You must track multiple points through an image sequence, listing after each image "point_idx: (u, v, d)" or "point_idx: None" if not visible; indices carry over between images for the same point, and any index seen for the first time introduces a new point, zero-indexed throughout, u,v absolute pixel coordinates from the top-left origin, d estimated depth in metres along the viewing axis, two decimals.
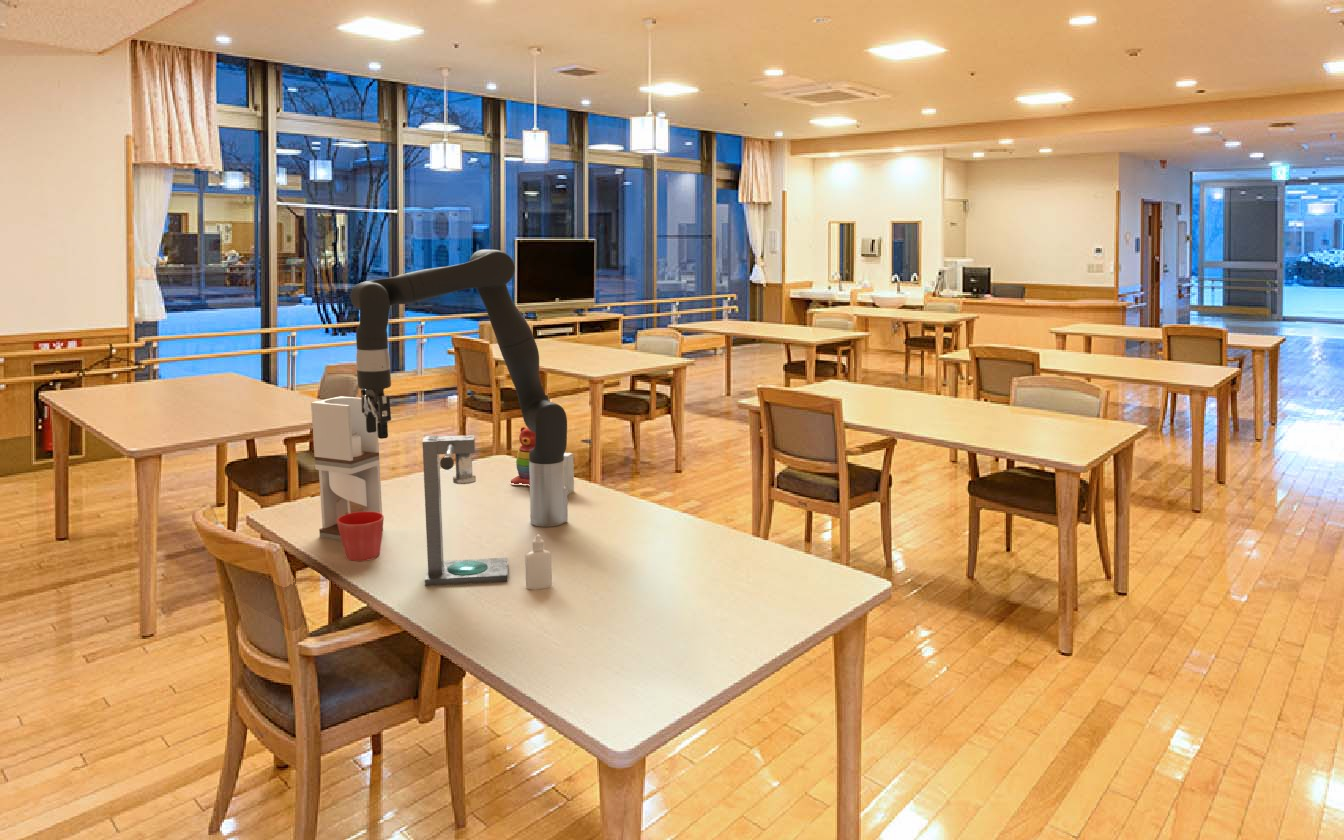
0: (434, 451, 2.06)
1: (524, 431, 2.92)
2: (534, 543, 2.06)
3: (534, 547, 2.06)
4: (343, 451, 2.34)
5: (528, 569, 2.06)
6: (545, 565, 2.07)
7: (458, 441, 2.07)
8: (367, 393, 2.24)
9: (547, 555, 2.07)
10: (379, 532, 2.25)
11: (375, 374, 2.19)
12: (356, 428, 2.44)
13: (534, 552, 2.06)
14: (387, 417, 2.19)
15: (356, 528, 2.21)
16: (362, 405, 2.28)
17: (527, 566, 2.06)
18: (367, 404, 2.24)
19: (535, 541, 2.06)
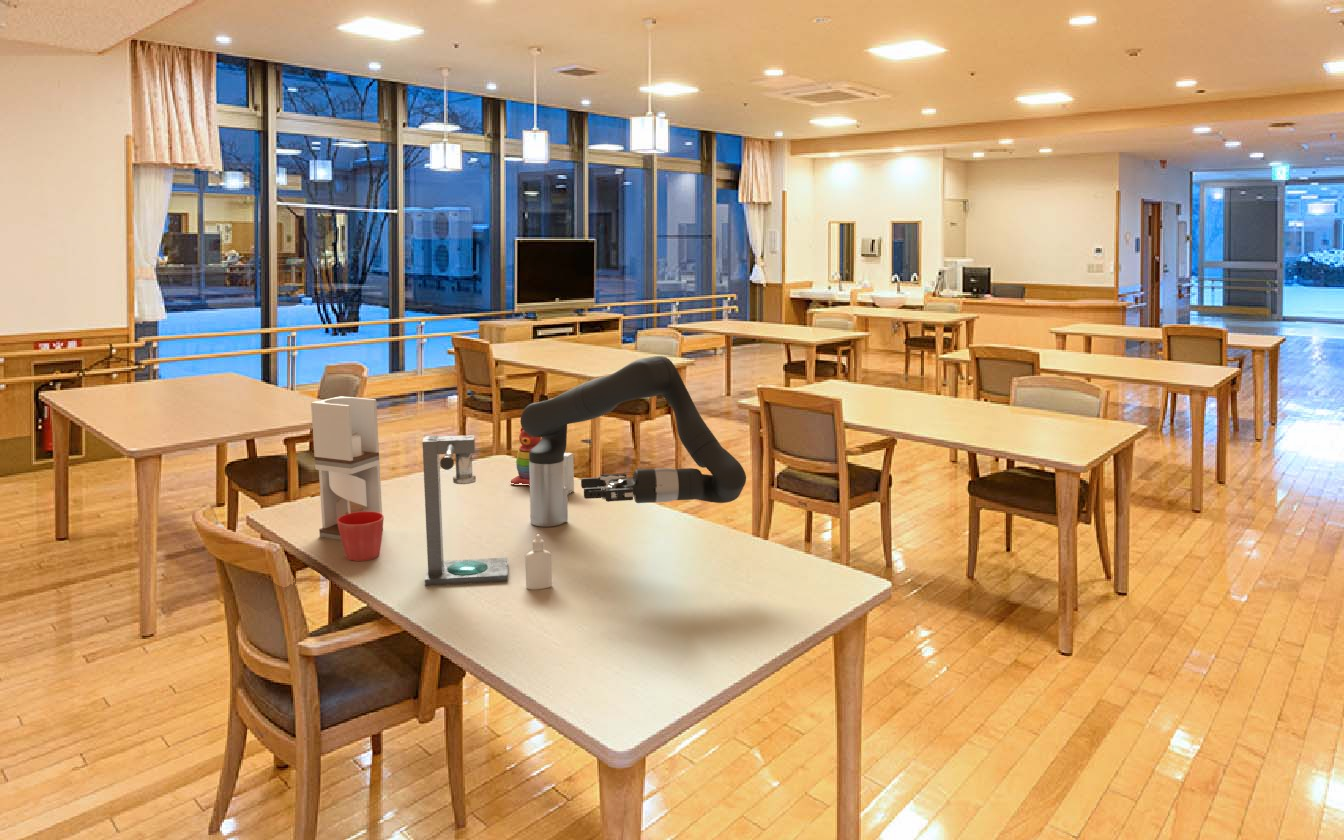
0: (434, 451, 2.06)
1: (524, 431, 2.92)
2: (534, 543, 2.06)
3: (534, 547, 2.06)
4: (343, 451, 2.34)
5: (528, 569, 2.06)
6: (545, 565, 2.07)
7: (458, 441, 2.07)
8: None
9: (547, 555, 2.07)
10: (379, 532, 2.25)
11: None
12: (356, 428, 2.44)
13: (534, 552, 2.06)
14: None
15: (356, 528, 2.21)
16: None
17: (527, 566, 2.06)
18: None
19: (535, 541, 2.06)
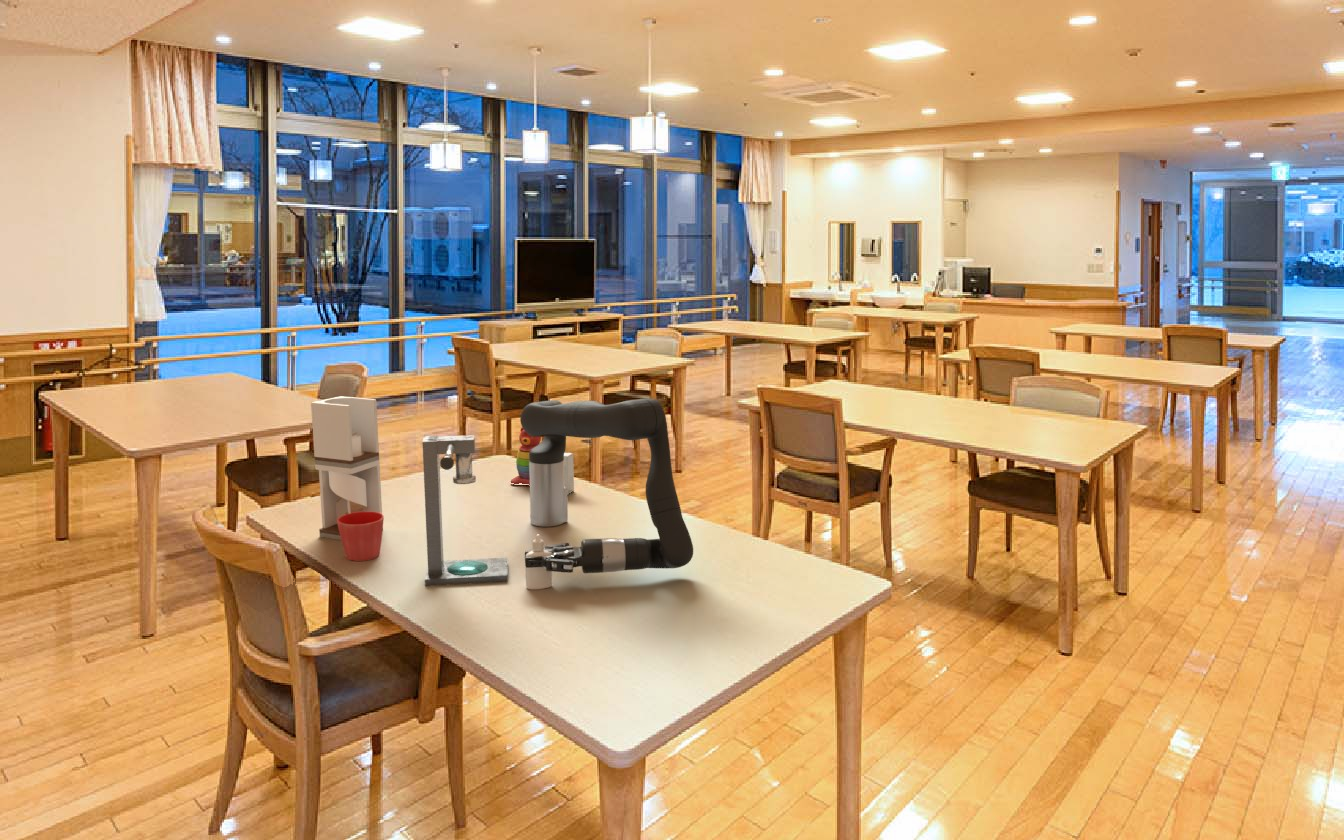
0: (434, 451, 2.06)
1: (524, 431, 2.92)
2: (534, 543, 2.06)
3: (534, 547, 2.06)
4: (343, 451, 2.34)
5: (528, 569, 2.06)
6: None
7: (458, 441, 2.07)
8: None
9: (547, 555, 2.06)
10: (379, 532, 2.25)
11: None
12: (356, 428, 2.44)
13: (534, 552, 2.06)
14: None
15: (356, 528, 2.21)
16: None
17: None
18: None
19: (535, 541, 2.06)
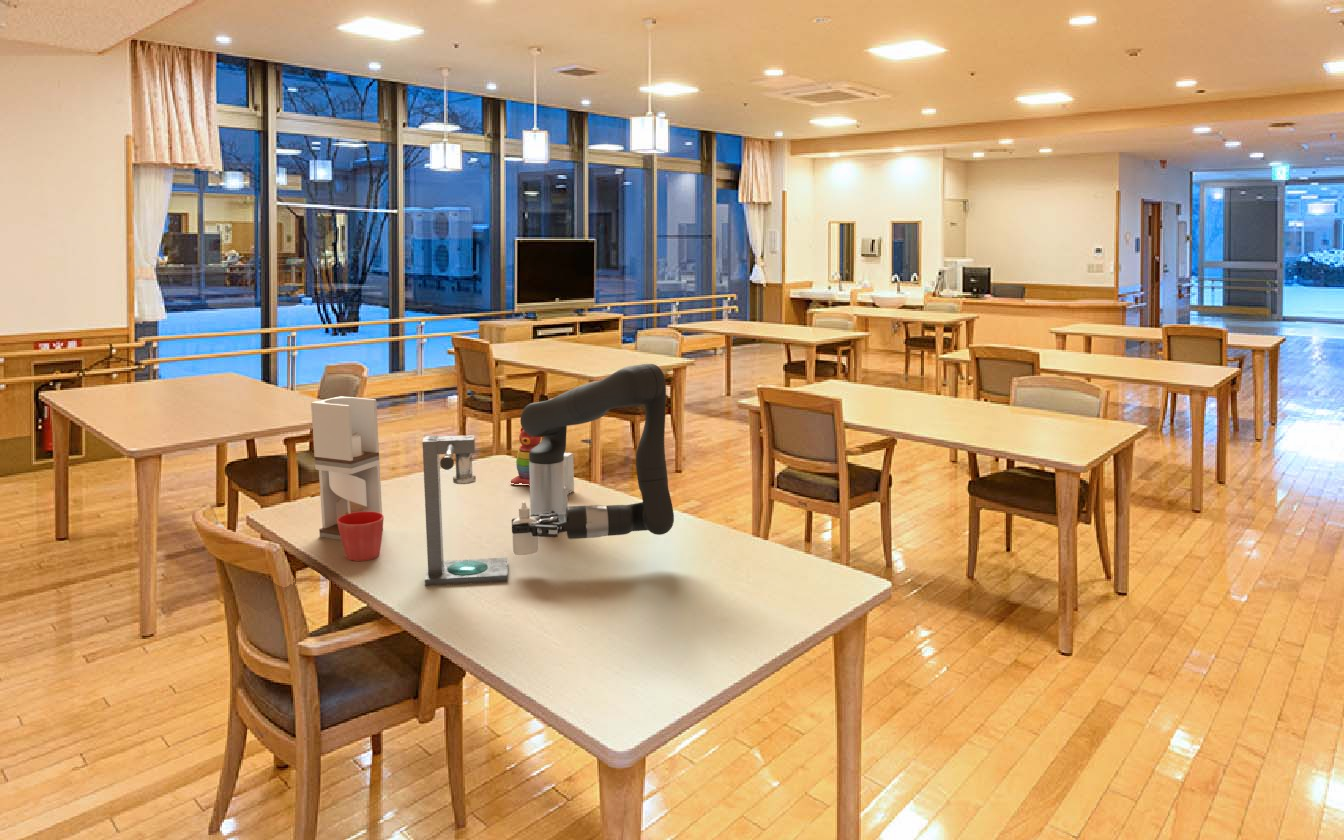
0: (434, 451, 2.06)
1: (524, 431, 2.92)
2: (520, 510, 2.14)
3: (520, 514, 2.14)
4: (343, 451, 2.34)
5: (515, 535, 2.14)
6: None
7: (458, 441, 2.07)
8: None
9: None
10: (379, 532, 2.25)
11: None
12: (356, 428, 2.44)
13: (520, 519, 2.14)
14: None
15: (356, 528, 2.21)
16: None
17: None
18: None
19: (521, 508, 2.14)
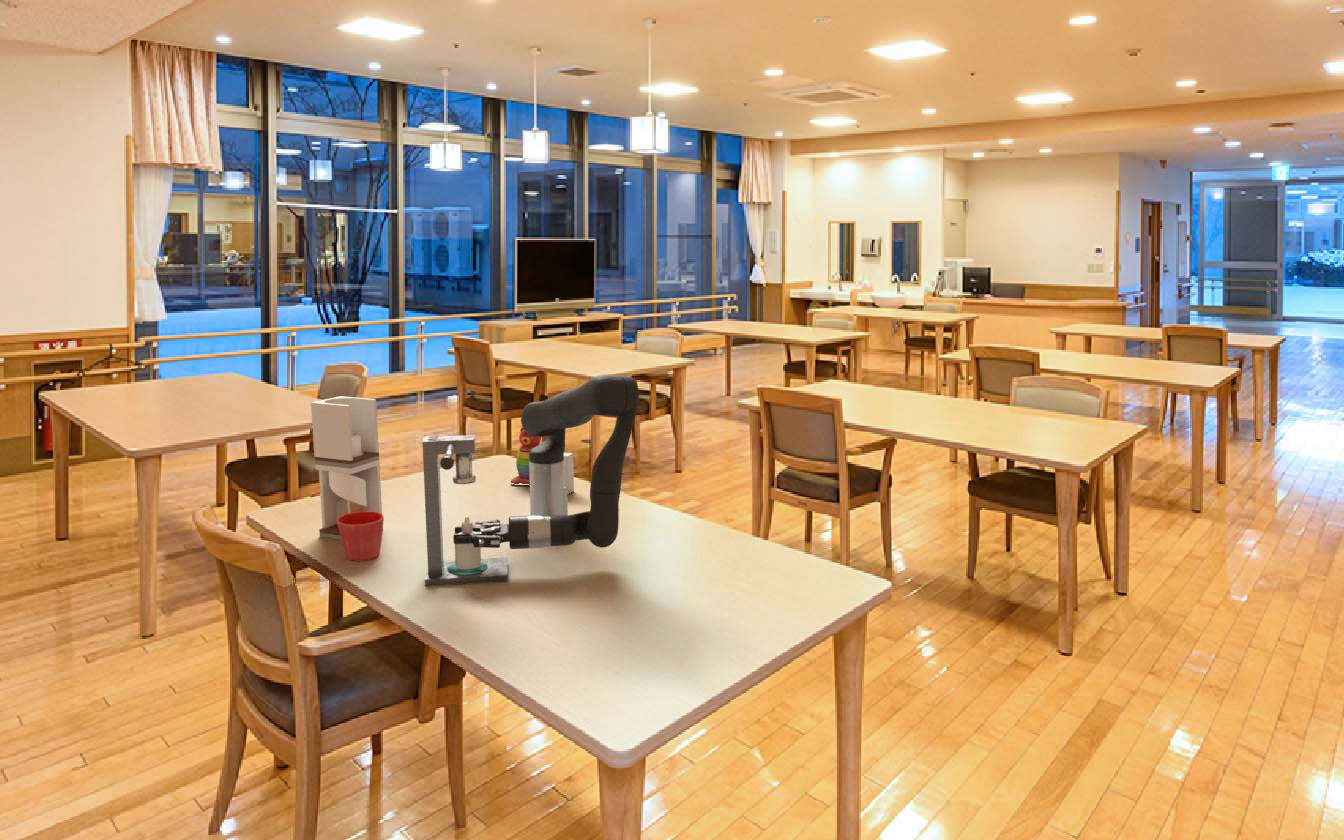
0: (434, 451, 2.06)
1: (524, 431, 2.92)
2: (463, 524, 2.13)
3: (463, 528, 2.13)
4: (343, 451, 2.34)
5: (457, 549, 2.13)
6: (473, 546, 2.14)
7: (458, 441, 2.07)
8: None
9: None
10: (379, 532, 2.25)
11: None
12: (356, 428, 2.44)
13: None
14: None
15: (356, 528, 2.21)
16: None
17: (456, 547, 2.13)
18: None
19: (464, 522, 2.13)
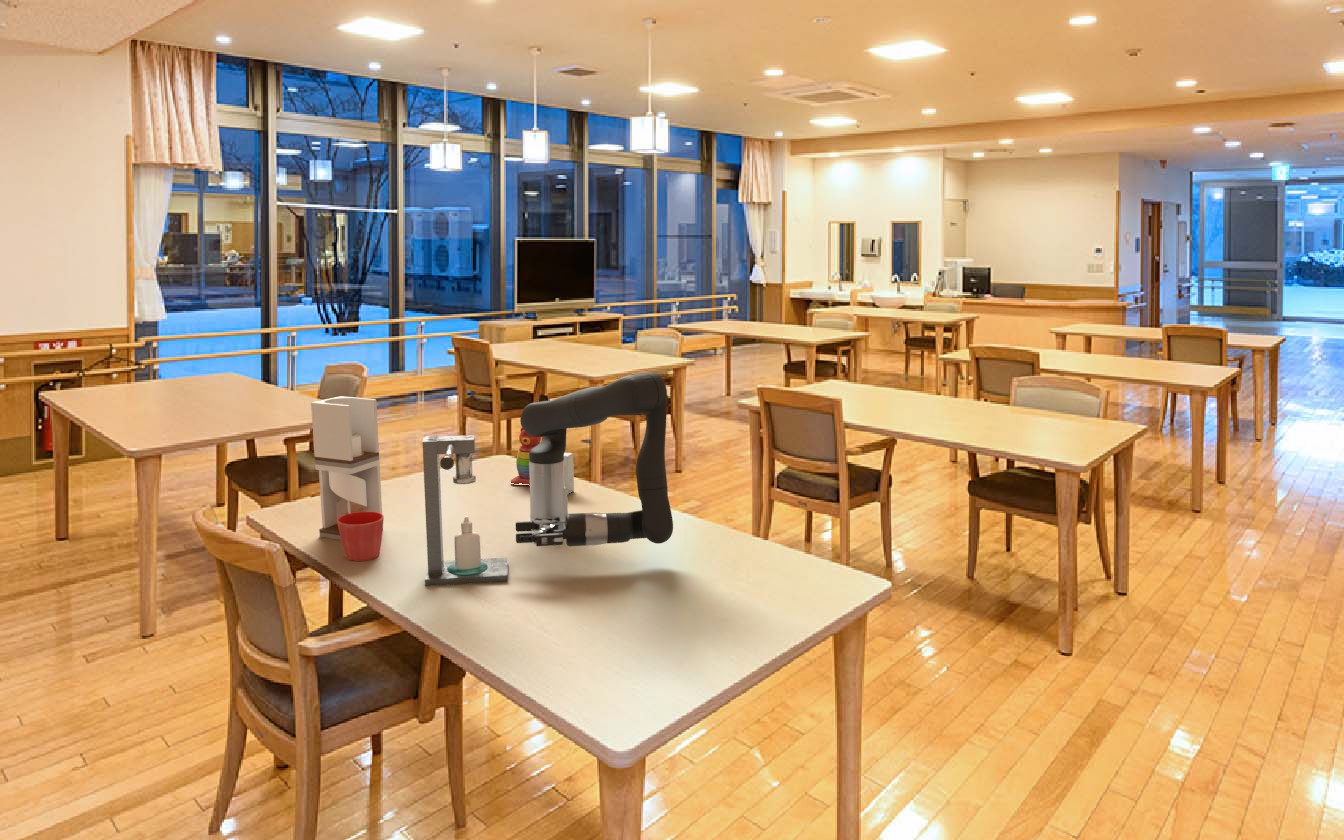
0: (434, 451, 2.06)
1: (524, 431, 2.92)
2: (462, 525, 2.13)
3: (462, 528, 2.13)
4: (343, 451, 2.34)
5: (457, 550, 2.13)
6: (473, 546, 2.14)
7: (458, 441, 2.07)
8: None
9: (475, 537, 2.14)
10: (379, 532, 2.25)
11: None
12: (356, 428, 2.44)
13: (462, 533, 2.13)
14: None
15: (356, 528, 2.21)
16: None
17: (456, 547, 2.13)
18: None
19: (463, 523, 2.13)
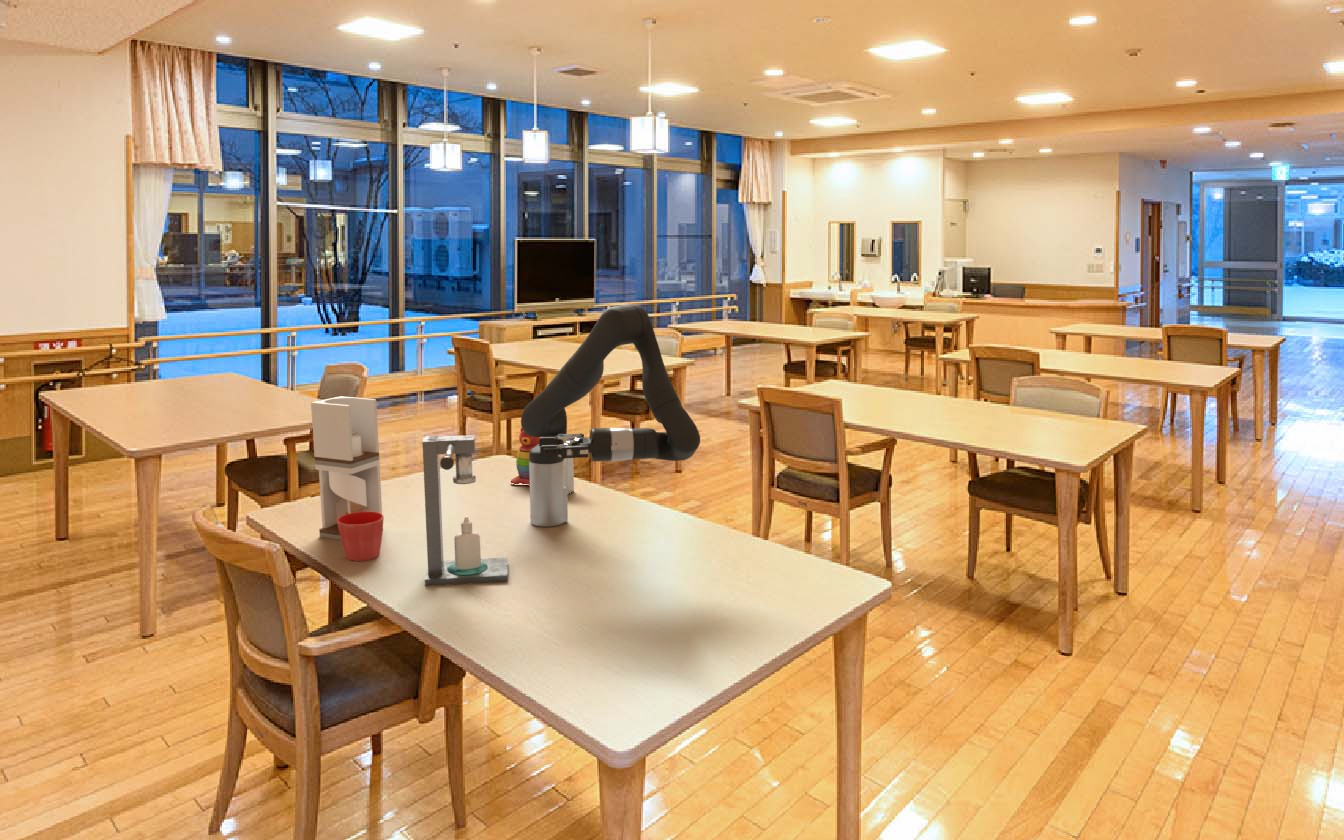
0: (434, 451, 2.06)
1: None
2: (462, 525, 2.13)
3: (462, 528, 2.13)
4: (343, 451, 2.34)
5: (457, 550, 2.13)
6: (473, 546, 2.14)
7: (458, 441, 2.07)
8: None
9: (475, 537, 2.14)
10: (379, 532, 2.25)
11: None
12: (356, 428, 2.44)
13: (462, 533, 2.13)
14: None
15: (356, 528, 2.21)
16: None
17: (456, 547, 2.13)
18: None
19: (463, 523, 2.13)
